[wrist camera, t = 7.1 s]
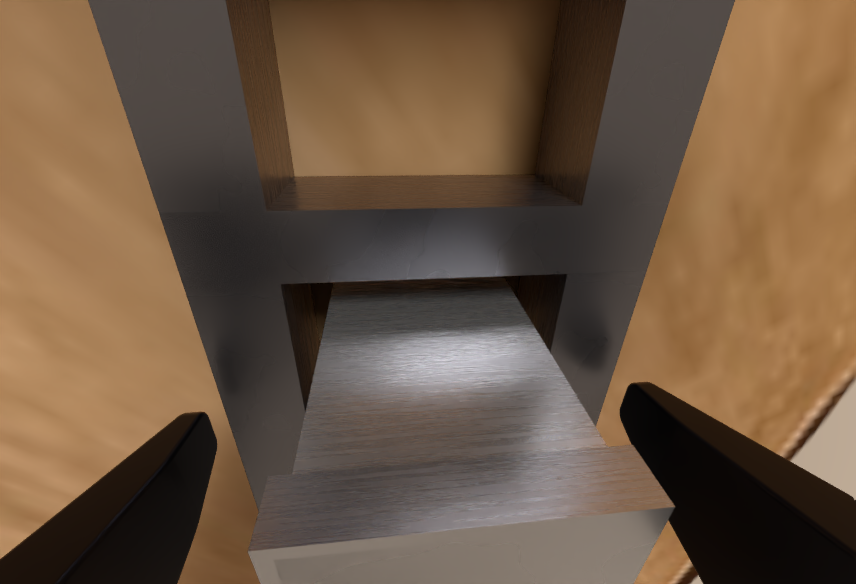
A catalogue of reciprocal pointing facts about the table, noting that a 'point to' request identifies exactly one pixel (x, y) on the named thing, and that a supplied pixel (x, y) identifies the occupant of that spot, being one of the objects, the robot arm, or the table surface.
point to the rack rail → (402, 194)
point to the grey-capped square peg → (450, 454)
